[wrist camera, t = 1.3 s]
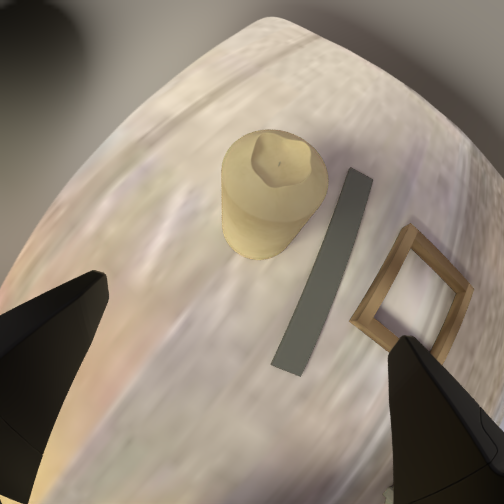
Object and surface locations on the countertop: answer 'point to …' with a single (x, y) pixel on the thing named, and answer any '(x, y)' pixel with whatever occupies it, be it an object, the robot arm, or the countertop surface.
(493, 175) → the countertop surface
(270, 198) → the candle
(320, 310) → the strip
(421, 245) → the keeper frame
